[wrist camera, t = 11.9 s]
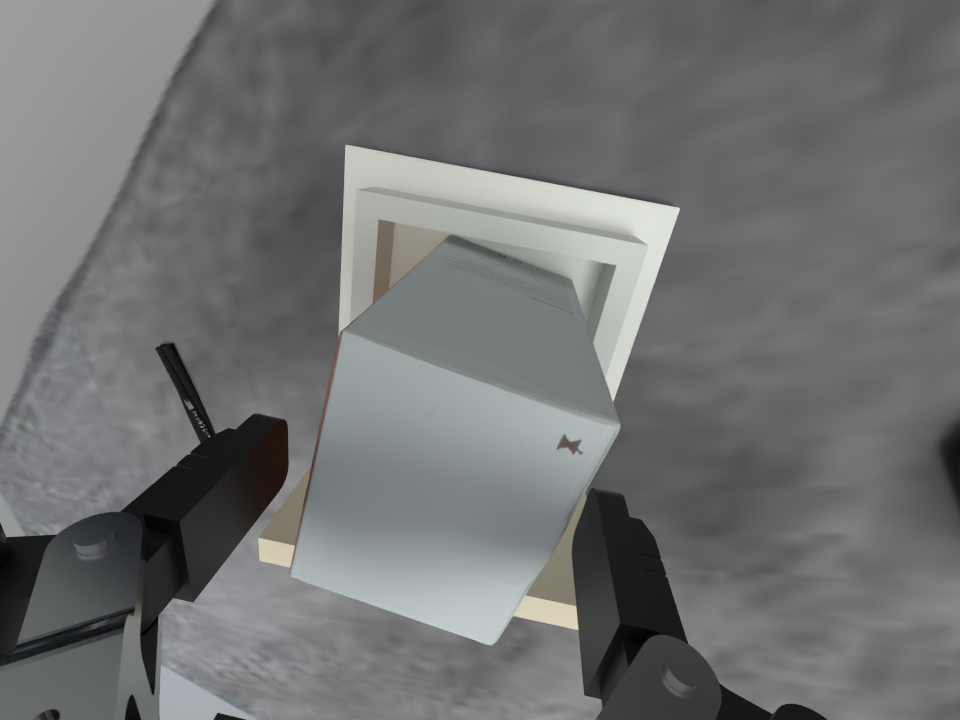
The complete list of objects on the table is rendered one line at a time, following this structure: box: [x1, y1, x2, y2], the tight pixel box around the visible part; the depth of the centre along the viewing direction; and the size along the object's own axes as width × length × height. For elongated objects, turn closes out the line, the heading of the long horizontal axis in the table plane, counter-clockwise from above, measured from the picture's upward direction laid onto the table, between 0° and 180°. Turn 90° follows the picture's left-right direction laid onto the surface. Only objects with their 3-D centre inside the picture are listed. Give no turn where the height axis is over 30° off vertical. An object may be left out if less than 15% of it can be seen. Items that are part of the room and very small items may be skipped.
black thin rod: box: [155, 343, 215, 443], centre depth 28 cm, size 12×1×1 cm, turn 9°
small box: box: [289, 235, 621, 645], centre depth 16 cm, size 8×6×13 cm
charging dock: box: [259, 145, 680, 630], centre depth 20 cm, size 17×15×9 cm
